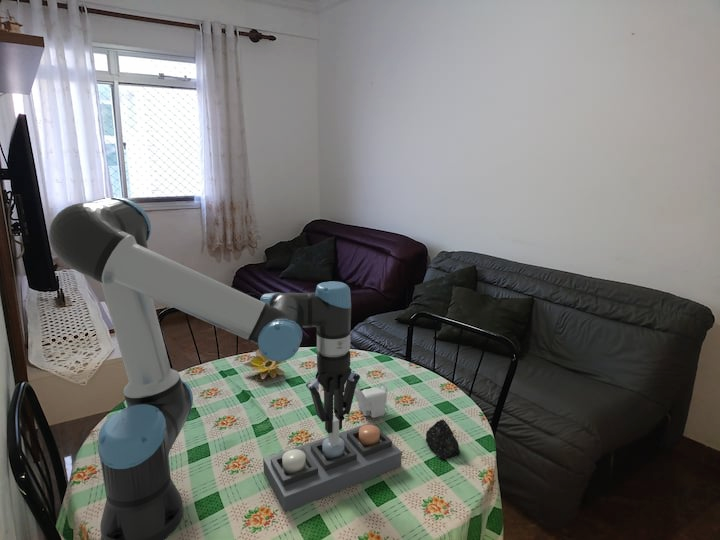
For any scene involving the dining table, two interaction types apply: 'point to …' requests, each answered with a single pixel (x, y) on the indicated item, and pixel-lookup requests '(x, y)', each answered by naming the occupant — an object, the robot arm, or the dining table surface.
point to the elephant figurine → (372, 400)
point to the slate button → (332, 449)
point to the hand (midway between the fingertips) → (333, 442)
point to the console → (330, 469)
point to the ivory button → (293, 461)
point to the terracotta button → (369, 435)
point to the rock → (442, 441)
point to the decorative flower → (264, 365)
